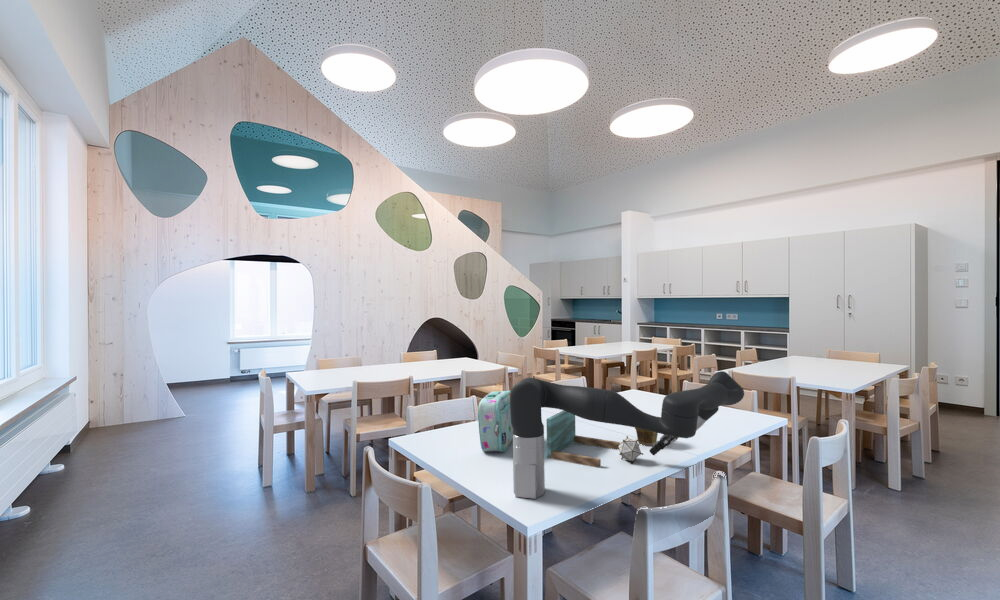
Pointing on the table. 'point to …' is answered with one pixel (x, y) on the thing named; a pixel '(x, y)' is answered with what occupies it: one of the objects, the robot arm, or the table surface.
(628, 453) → the game die
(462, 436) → the table surface
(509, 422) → the lunch box
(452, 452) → the table surface
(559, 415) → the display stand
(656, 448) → the robot arm
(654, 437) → the ceramic cup
